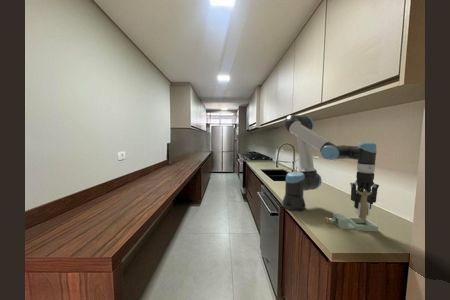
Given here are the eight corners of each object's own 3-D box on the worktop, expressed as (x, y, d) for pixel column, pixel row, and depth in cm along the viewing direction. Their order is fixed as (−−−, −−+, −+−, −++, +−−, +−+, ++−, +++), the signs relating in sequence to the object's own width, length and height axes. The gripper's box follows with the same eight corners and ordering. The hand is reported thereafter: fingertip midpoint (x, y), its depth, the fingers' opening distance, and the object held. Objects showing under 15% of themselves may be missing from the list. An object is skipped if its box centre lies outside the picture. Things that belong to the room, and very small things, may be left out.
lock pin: (324, 221, 102) (324, 215, 102) (337, 222, 102) (337, 216, 102) (327, 224, 99) (327, 218, 99) (340, 224, 99) (341, 219, 99)
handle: (353, 215, 102) (354, 189, 101) (367, 217, 100) (368, 190, 99) (356, 219, 98) (357, 192, 97) (371, 221, 96) (372, 193, 95)
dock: (331, 220, 105) (332, 212, 105) (365, 222, 104) (365, 214, 104) (341, 229, 96) (341, 220, 95) (377, 231, 94) (378, 222, 94)
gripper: (353, 172, 94) (349, 216, 96) (388, 173, 93) (384, 218, 95) (344, 169, 102) (341, 210, 103) (377, 171, 100) (373, 212, 102)
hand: (362, 214), depth 99 cm, fingers closed on handle, 4 cm apart
